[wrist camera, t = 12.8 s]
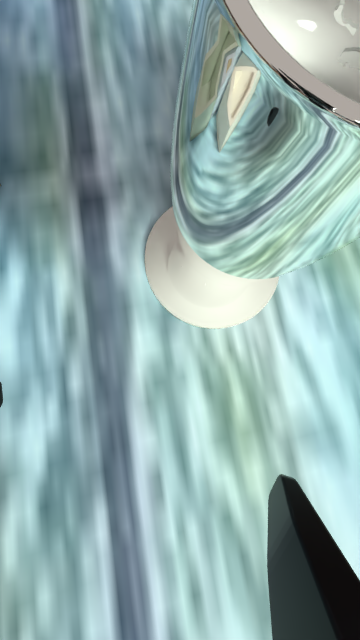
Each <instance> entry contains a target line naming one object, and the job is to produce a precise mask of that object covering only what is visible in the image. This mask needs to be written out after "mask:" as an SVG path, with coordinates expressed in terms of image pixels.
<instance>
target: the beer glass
mask: <svg viewBox="0 0 360 640" xmlns="http://www.w3.org/2000/svg"><path fill="white" fill-rule="evenodd" d="M170 181H171V194H172V206H173V212H174V219H175V225H176V230H177V235H178V237H177V239H176V240H175V242H174V243H173V245H172V247H171V249H170V252H169V256H168V263H167V268H168V275H169V278H170V281H171V283H172V285H173V287H174V288H175V290H176V291H177V292H178V294H179V295H180V296H181V297H182V298H184V299H185V300H186V301H188V302H190V303H191V304H193V305H196V306H199V307H203V308H220V307H224V306H227V305H229V304H231V303H233V302H234V301H236V300H237V299H238V298H239V297H240V296H241V295H242V294H243V293H244V292H245V290H246V289H247V288H248V286H249V284H251V283H255V282H259V281H263V280H267V279H271V278H274V277H278V276H281V275H284V274H287V273H290V272H292V271H295V270H298V269H301V268H303V267H306V266H308V265H310V264H312V263H314V262H316V261H318V260H320V259H322V258H324V257H326V256H328V255H330V254H332V253H334V252H336V251H338V250H340V249H342V248H343V247H345V246H347V245H348V244H350V243H352V242H353V241H355V240H357V239H358V238H360V0H194V1H193V6H192V12H191V17H190V22H189V28H188V33H187V39H186V44H185V50H184V56H183V62H182V68H181V74H180V80H179V86H178V93H177V101H176V109H175V117H174V125H173V133H172V148H171V168H170Z"/></svg>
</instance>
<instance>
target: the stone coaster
mask: <svg viewBox="0 0 360 640" xmlns="http://www.w3.org/2000/svg"><path fill="white" fill-rule="evenodd" d="M177 237H178V235H177V230H176V225H175V219H174V212H173V206H172V207H171V208H169V209H168V210H167V211H166V212H165V213H164V214H162V216H161V217H160V218H159V219H158V220H157V222H156V223H155V225H154V226H153V228H152V230H151V232H150V234H149V237H148V240H147V243H146V249H145V268H146V275H147V279H148V282H149V285H150V287H151V290H152V291H153V293H154V295H155V297H156V298H157V300H158V301H159V302H160V304H161V305H162V306H163V307H164V308H165V309H166V310H167V311H168V312H169V313H171V314H172V315H173V316H175V317H176V318H178V319H179V320H181V321H183V322H185V323H187V324H190V325H192V326H196V327H200V328H206V329H222V328H228V327H232V326H235V325H238V324H241V323H243V322H245V321H247V320H249V319H251V318H252V317H254V316H255V315H256V314H258V313H259V312H260V311H261V310H262V309H263V308H264V307H265V306H266V304H267V303H268V302H269V300H270V299H271V297H272V295H273V293H274V291H275V289H276V286H277V283H278V279H279V276H278V277H274V278H271V279H267V280H263V281H259V282H255V283H251V284H249V286H248V288H247V289H246V290H245V292H244V293H243V294H242V295H241V296H240V297H239V298H238V299H237V300H236V301H234V302H233V303H231V304H229V305H227V306H224V307H220V308H203V307H199V306H196V305H193V304H191V303H190V302H188V301H186V300H185V299H184V298H182V297H181V296H180V295H179V294H178V292H177V291H176V290H175V288H174V287H173V285H172V283H171V281H170V278H169V275H168V268H167V263H168V256H169V252H170V249H171V247H172V245H173V243H174V242H175V240H176V239H177Z"/></svg>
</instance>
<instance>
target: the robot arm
mask: <svg viewBox="0 0 360 640" xmlns="http://www.w3.org/2000/svg"><path fill="white" fill-rule="evenodd" d="M2 403H3V394H2V384H1V382H0V407H1V405H2ZM267 568H268V584H269V598H270V611H271V625H272V638H273V640H360V580H359V579H358V577H357V576H356V574H355V572H354V571H353V569H352V568H351V566H350V565H349V563H348V561H347V560H346V558H345V557H344V555H343V553H342V552H341V550H340V549H339V547H338V546H337V544H336V542H335V541H334V539H333V538H332V536H331V534H330V533H329V531H328V530H327V528H326V527H325V525H324V523H323V522H322V520H321V519H320V517H319V515H318V514H317V512H316V511H315V509H314V508H313V506H312V504H311V503H310V501H309V500H308V498H307V496H306V495H305V493H304V492H303V490H302V489H301V487H300V485H299V484H298V482H297V481H296V480H295V479H294V478H292V477H289V476H286V475H283V474H280V475H279V476H278V477H277V479H276V481H275V483H274V485H273V487H272V489H271V491H270V494H269V500H268V548H267Z"/></svg>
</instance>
